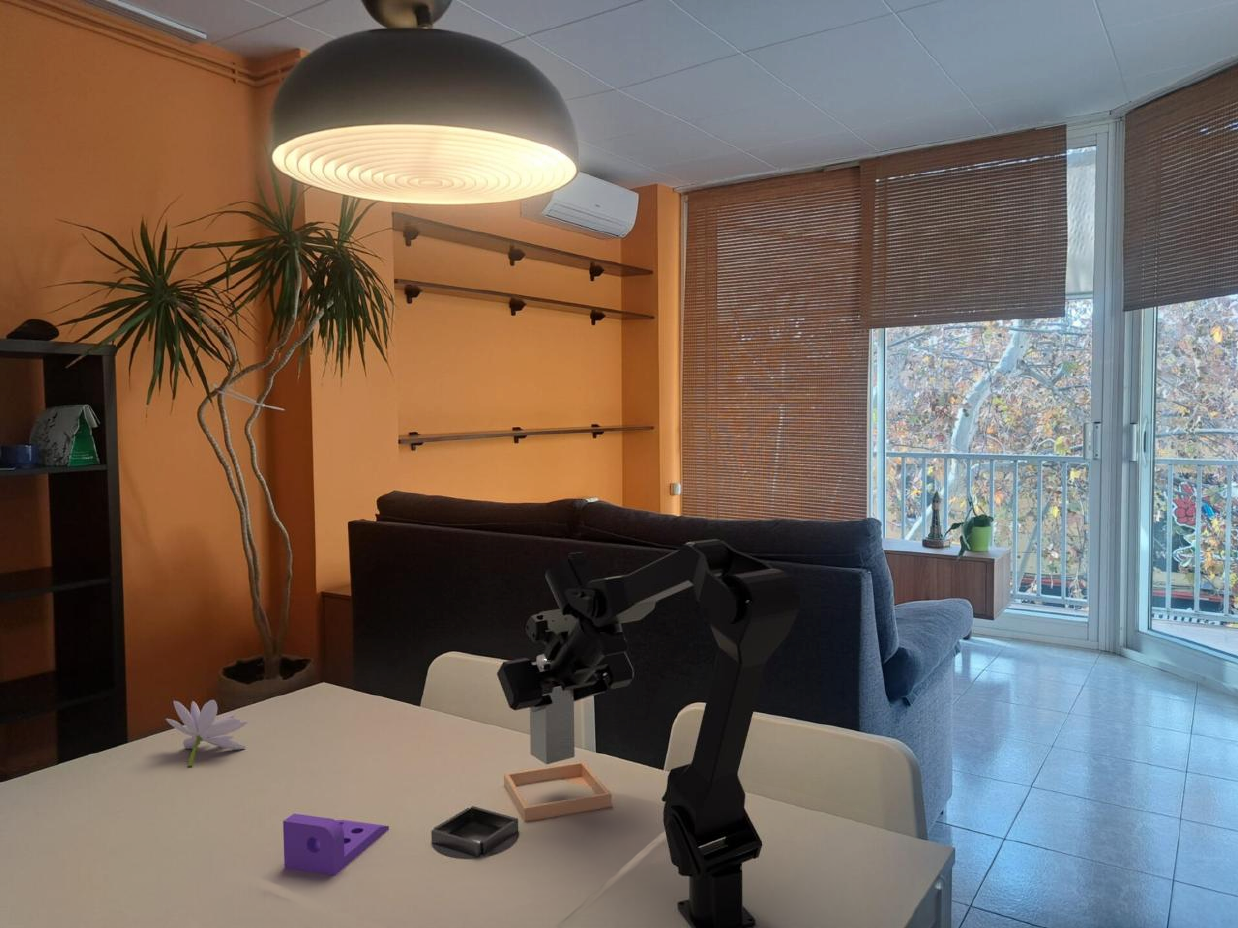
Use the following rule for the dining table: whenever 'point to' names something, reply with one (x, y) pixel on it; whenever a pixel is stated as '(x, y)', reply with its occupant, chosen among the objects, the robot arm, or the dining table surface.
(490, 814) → the socket cup
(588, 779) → the tray
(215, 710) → the water lily
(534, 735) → the strut
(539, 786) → the dining table surface
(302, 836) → the bracket
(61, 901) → the dining table surface
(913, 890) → the dining table surface
